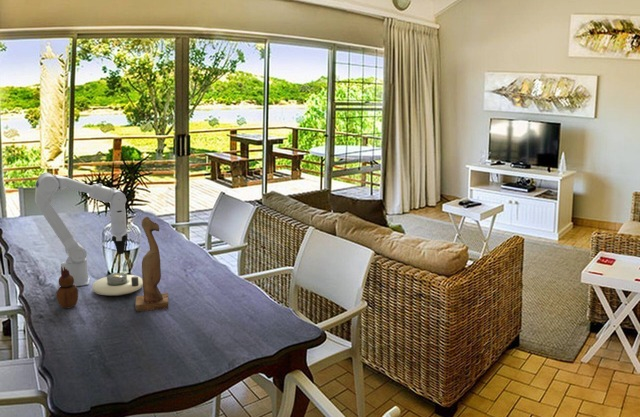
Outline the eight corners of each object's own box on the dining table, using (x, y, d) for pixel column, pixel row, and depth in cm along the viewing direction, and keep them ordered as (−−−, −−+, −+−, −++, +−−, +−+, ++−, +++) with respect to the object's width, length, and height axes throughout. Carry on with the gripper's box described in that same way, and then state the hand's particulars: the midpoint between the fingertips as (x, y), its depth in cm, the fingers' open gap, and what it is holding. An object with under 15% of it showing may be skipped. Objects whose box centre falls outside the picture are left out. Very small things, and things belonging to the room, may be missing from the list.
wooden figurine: (65, 311, 197) (61, 269, 193) (54, 307, 200) (50, 266, 196) (82, 305, 202) (78, 264, 199) (72, 301, 205) (68, 261, 202)
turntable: (81, 291, 212) (80, 279, 211) (114, 276, 229) (113, 265, 228) (122, 298, 206) (121, 286, 205) (152, 281, 223) (152, 270, 222)
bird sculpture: (170, 309, 200) (169, 219, 194) (135, 312, 196) (133, 221, 190) (167, 298, 211) (166, 212, 204) (134, 301, 207) (132, 214, 200)
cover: (103, 284, 215) (102, 277, 214) (115, 278, 221) (115, 271, 221) (119, 286, 213) (118, 279, 212) (131, 280, 219) (130, 273, 218)
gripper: (128, 224, 221) (131, 258, 224) (129, 215, 235) (131, 247, 238) (109, 225, 219) (111, 259, 222) (111, 216, 233) (113, 249, 236)
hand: (120, 253), depth 230 cm, fingers closed
